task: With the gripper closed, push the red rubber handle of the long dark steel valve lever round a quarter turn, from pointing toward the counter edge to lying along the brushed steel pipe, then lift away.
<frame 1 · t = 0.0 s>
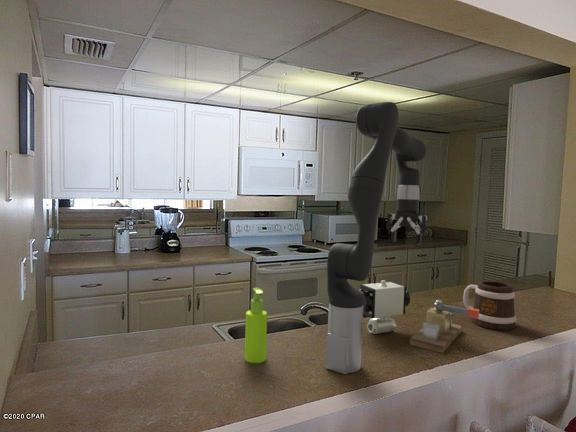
hand: (405, 243, 144), 29 cm above the worktop, tool pointing down, fingers open, 8 cm apart
valve lever: (455, 308, 129), point 11 cm above the worktop, hinge at -90.0°
ball valve: (379, 332, 137), on the worktop
soap dispenser: (255, 360, 112), on the worktop
mug: (486, 322, 151), on the worktop
valve base: (437, 337, 133), on the worktop
valve pipe: (437, 321, 133), on the valve base, point 5 cm above the worktop
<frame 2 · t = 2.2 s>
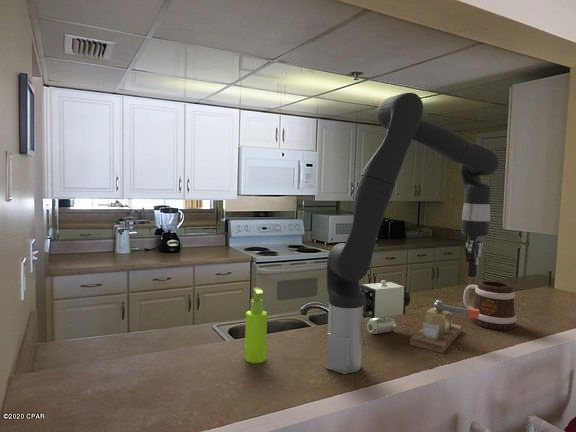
hand: (472, 276, 121), 23 cm above the worktop, tool pointing down, fingers closed
nothing on the worktop moved.
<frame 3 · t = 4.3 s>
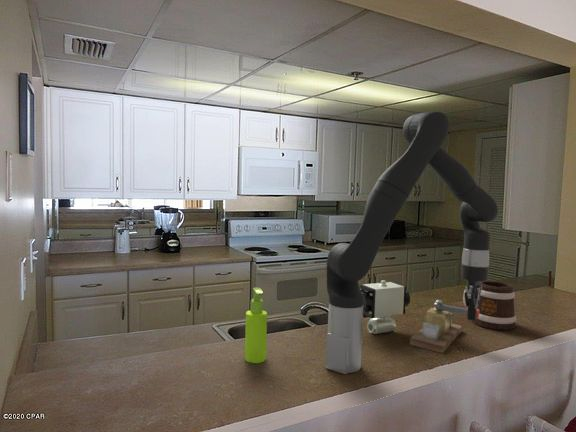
hand: (471, 319, 124), 9 cm above the worktop, tool pointing down, fingers closed
valve lever: (455, 308, 129), point 11 cm above the worktop, hinge at -89.4°, touching gripper
everything else where it was.
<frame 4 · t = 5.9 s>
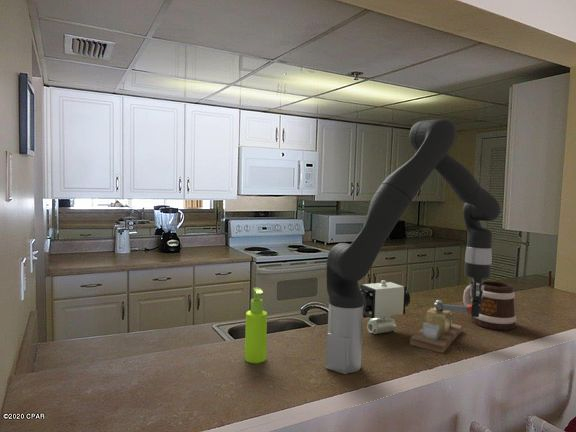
hand: (474, 316, 127), 9 cm above the worktop, tool pointing down, fingers closed
valve lever: (456, 306, 131), point 11 cm above the worktop, hinge at -66.0°, touching gripper
everything else where it was.
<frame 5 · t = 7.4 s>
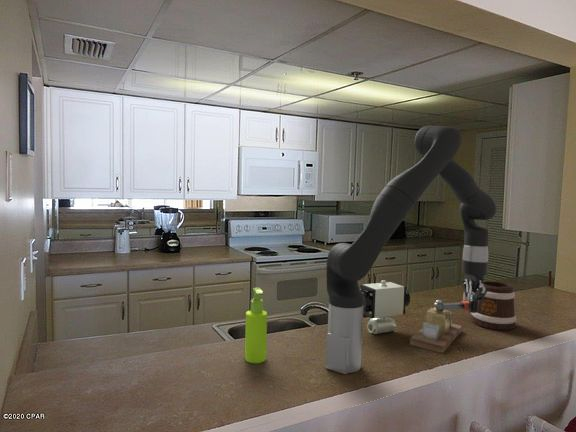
hand: (472, 312, 131), 9 cm above the worktop, tool pointing down, fingers closed
valve lever: (453, 304, 133), point 11 cm above the worktop, hinge at -41.5°, touching gripper
everything else where it was.
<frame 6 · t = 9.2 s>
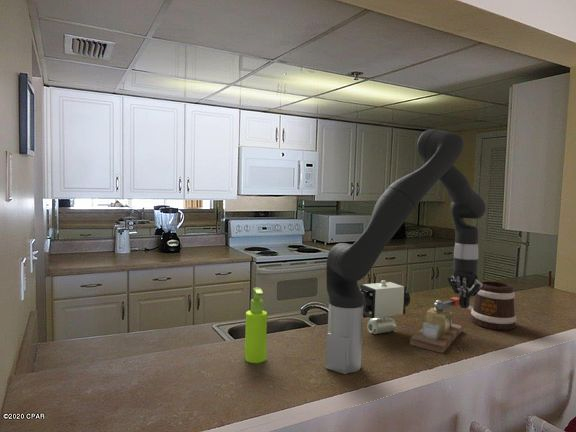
hand: (464, 307, 136), 9 cm above the worktop, tool pointing down, fingers closed
valve lever: (447, 303, 136), point 11 cm above the worktop, hinge at -15.0°, touching gripper
everything else where it was.
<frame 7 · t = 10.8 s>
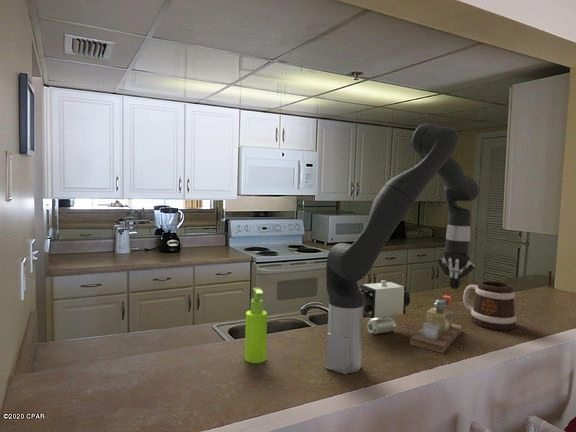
hand: (454, 288, 139), 15 cm above the worktop, tool pointing down, fingers closed
valve lever: (442, 302, 137), point 11 cm above the worktop, hinge at 1.0°
everything else where it was.
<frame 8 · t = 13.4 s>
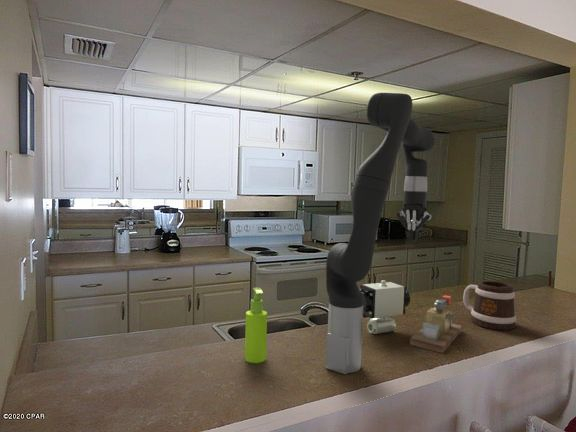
hand: (412, 241, 138), 31 cm above the worktop, tool pointing down, fingers closed
nothing on the worktop moved.
at the end: valve lever at +1° (first picture: -90°) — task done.
